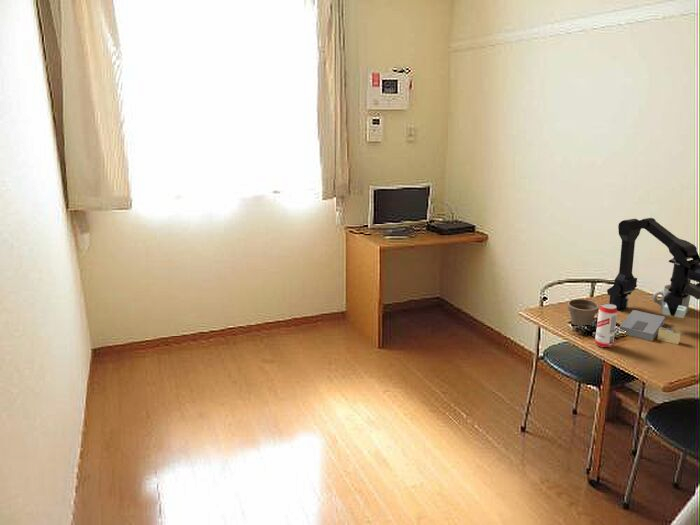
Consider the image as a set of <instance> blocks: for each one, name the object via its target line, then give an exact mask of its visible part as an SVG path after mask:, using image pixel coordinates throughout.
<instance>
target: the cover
mask: <svg viewBox="0 0 700 525" xmlns="http://www.w3.org/2000/svg"><path fill="white" fill-rule="evenodd" d="M686 309H687V307H685V306H680V305H679V306H678V308H677V311H676V313H675V315H674V316H673V317H676V318H679V319H684V318H685V316H686V315H687V314H686ZM662 315H667V316H671V314H670V311H669V308H668V306H667V303H666V304H665V306H664V309H663V311H662ZM671 317H672V316H671Z"/></svg>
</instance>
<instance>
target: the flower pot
mask: <svg viewBox="0 0 700 525" xmlns="http://www.w3.org/2000/svg"><path fill="white" fill-rule="evenodd" d="M599 308H600V306H599V304H598V303H597V302H596V301H593V300H589V299H586V298H576V299H571V300H569V301H568V302H567V309H568V311H569V314H570V315H569V316H570V322H571V325H572V324H574V325H580V326H583V325H584V326H585V325H590V324H591V323H593V321H594V318H595V316H596V315H598V314H599ZM591 325H592V324H591Z"/></svg>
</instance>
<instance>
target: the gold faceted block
mask: <svg viewBox="0 0 700 525" xmlns="http://www.w3.org/2000/svg"><path fill="white" fill-rule="evenodd" d="M681 336H682V331H680V330H676V329H675V328H673V327H663V326H662V327H660V328H659V332H658V334H657V337H656V338H657V339H656V340H658V341H660V342H661V341H662V342H666V343H670V344H674V345H679V343H680V339H681Z"/></svg>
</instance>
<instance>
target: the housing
mask: <svg viewBox="0 0 700 525" xmlns="http://www.w3.org/2000/svg"><path fill="white" fill-rule="evenodd" d="M665 322H666V316H663V315H658V314H653V313H649V312H645V311H641V310H636V309H633V310H632V311H631V312H630V313H629V314H628V315H627V317H625V319H624V320H623V322H621V324H620V325H619V328H620V329H622V330H624V331H626V334H627V335H626V336H628V335H629V336H628V337H632V336H633V337H632V338H637V339H642V340H646V341H649V342H653V341H654V340H655V338H657V336H658V332H659V328H660V327H663V326H664V325H665Z"/></svg>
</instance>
